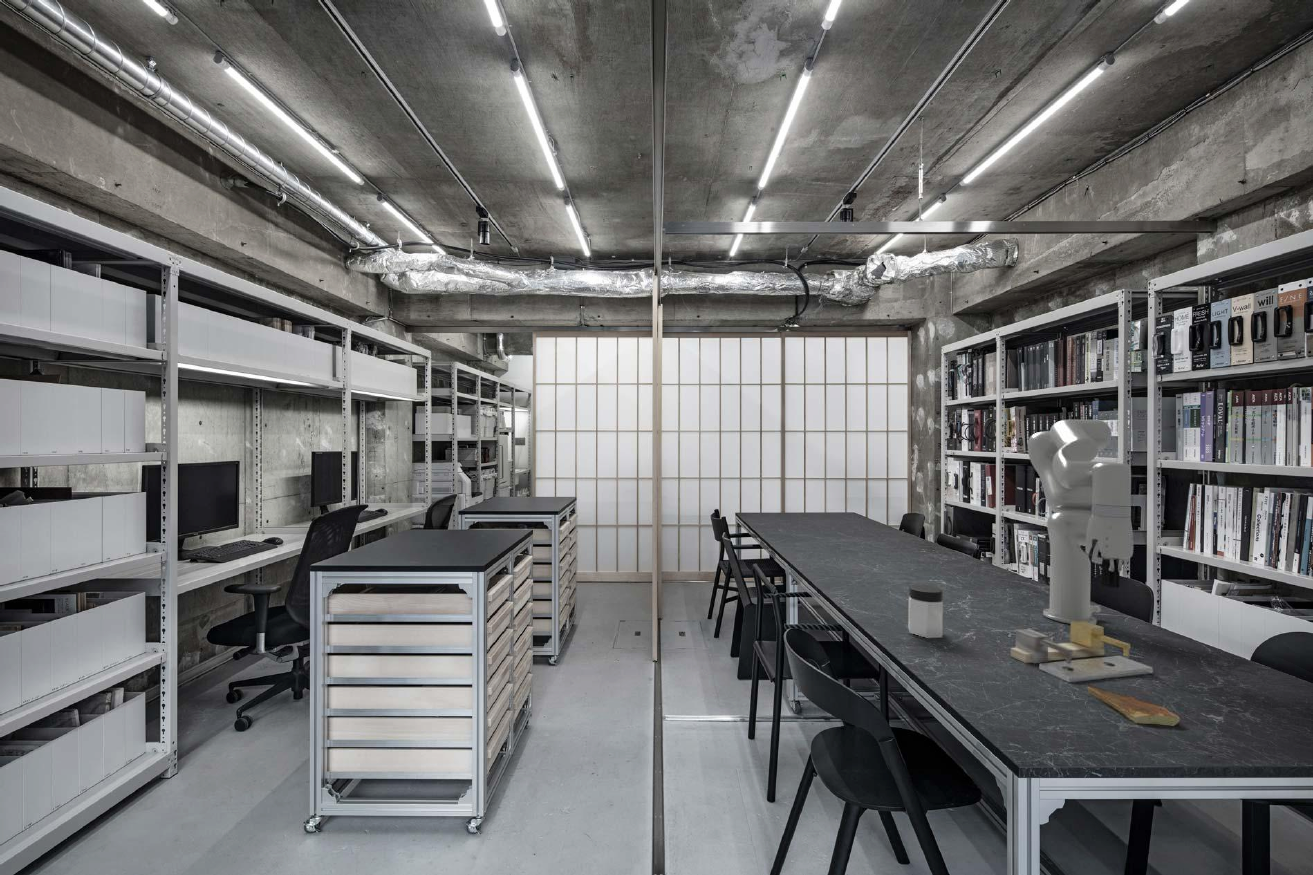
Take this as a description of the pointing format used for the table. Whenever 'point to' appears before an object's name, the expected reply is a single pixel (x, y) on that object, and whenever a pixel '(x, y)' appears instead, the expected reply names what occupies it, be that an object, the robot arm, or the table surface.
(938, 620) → the jar
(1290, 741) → the table surface
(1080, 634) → the sliding leg
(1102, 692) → the shard
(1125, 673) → the bolt plate
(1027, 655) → the divider rail
